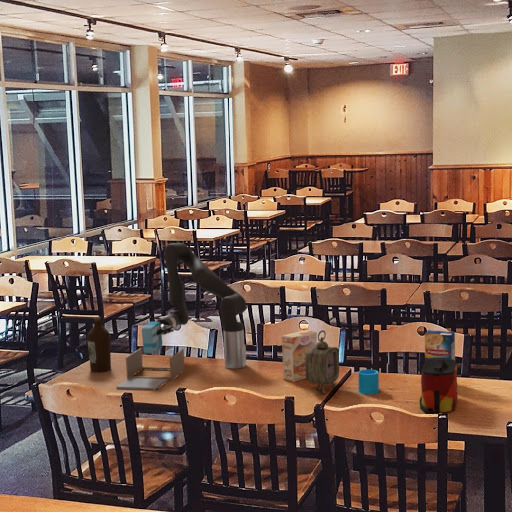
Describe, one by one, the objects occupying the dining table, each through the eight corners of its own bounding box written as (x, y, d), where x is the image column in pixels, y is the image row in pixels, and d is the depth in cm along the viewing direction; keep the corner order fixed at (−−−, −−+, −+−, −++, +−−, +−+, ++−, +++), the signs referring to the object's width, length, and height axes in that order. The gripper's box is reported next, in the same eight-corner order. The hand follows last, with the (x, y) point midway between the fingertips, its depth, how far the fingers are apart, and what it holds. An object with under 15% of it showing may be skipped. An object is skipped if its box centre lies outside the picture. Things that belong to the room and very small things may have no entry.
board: (167, 381, 382) (167, 379, 382) (156, 390, 369) (155, 387, 369) (129, 380, 387) (129, 377, 387) (116, 388, 373) (116, 386, 373)
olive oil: (106, 365, 415) (102, 314, 412) (116, 369, 406) (113, 317, 403) (85, 369, 409) (82, 317, 406) (95, 373, 400) (91, 320, 397)
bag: (454, 417, 317) (454, 373, 315) (416, 415, 321) (415, 372, 319) (458, 394, 346) (458, 353, 344) (423, 393, 350) (422, 353, 348)
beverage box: (451, 388, 354) (451, 335, 352) (425, 385, 359) (424, 333, 356) (455, 383, 360) (455, 331, 358) (429, 381, 365) (428, 330, 362)
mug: (377, 394, 349) (377, 374, 348) (357, 394, 351) (357, 374, 350) (380, 386, 361) (380, 367, 360) (361, 386, 363) (360, 366, 362)
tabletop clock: (325, 395, 351) (323, 335, 347) (304, 393, 355) (302, 333, 352) (339, 386, 363) (338, 327, 360) (320, 384, 368) (318, 326, 364)
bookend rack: (184, 370, 400) (183, 349, 399) (171, 380, 383) (170, 358, 382) (141, 369, 405) (140, 348, 404) (127, 379, 389) (125, 357, 387)
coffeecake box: (294, 382, 373) (292, 337, 371) (282, 379, 378) (281, 335, 376) (318, 375, 383) (317, 331, 380) (307, 372, 388) (305, 329, 386)
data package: (153, 354, 385) (150, 328, 383) (143, 354, 386) (141, 328, 384) (162, 346, 396) (160, 320, 394) (153, 346, 398) (151, 320, 395)
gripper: (150, 316, 408) (136, 324, 391) (179, 317, 404) (166, 325, 388) (151, 332, 409) (137, 340, 392) (180, 332, 405) (167, 341, 389)
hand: (152, 332), depth 390 cm, fingers closed on data package, 4 cm apart
